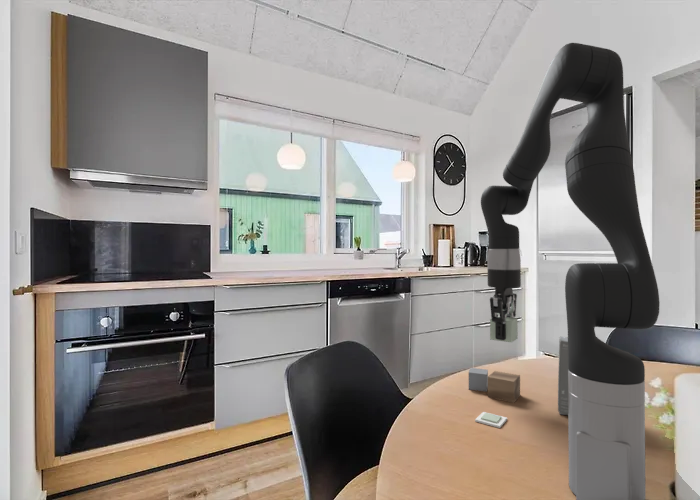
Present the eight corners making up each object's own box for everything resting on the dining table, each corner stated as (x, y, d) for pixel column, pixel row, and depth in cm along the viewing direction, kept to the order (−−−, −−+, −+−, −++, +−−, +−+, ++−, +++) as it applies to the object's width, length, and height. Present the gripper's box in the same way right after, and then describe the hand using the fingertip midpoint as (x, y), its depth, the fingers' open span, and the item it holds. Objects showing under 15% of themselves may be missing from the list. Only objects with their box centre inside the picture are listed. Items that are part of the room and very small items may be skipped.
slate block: (486, 392, 97) (486, 374, 97) (468, 389, 99) (468, 372, 99) (487, 386, 101) (487, 369, 101) (470, 384, 103) (470, 367, 103)
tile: (499, 428, 77) (499, 424, 77) (475, 421, 80) (475, 418, 80) (507, 419, 81) (507, 416, 81) (483, 413, 84) (483, 410, 84)
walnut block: (514, 403, 90) (513, 381, 90) (487, 397, 94) (487, 376, 94) (520, 395, 95) (520, 375, 95) (495, 390, 99) (494, 370, 99)
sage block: (511, 342, 91) (511, 321, 91) (490, 339, 94) (490, 319, 94) (517, 338, 95) (517, 318, 95) (496, 336, 98) (496, 316, 98)
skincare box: (558, 414, 83) (557, 341, 84) (557, 403, 90) (557, 334, 90) (604, 422, 80) (604, 345, 80) (601, 410, 86) (600, 338, 86)
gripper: (511, 269, 87) (511, 345, 87) (527, 267, 98) (528, 334, 98) (478, 268, 91) (478, 340, 91) (497, 266, 103) (497, 330, 102)
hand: (504, 337), depth 95 cm, fingers closed on sage block, 5 cm apart
